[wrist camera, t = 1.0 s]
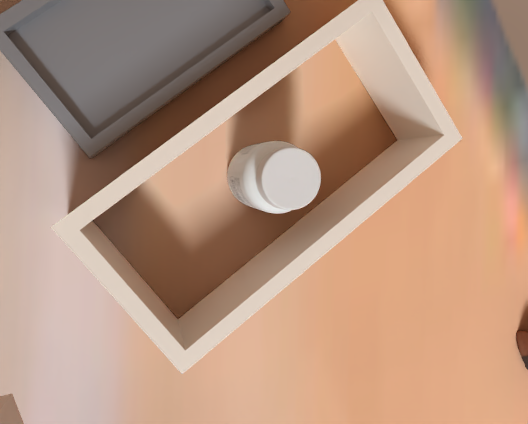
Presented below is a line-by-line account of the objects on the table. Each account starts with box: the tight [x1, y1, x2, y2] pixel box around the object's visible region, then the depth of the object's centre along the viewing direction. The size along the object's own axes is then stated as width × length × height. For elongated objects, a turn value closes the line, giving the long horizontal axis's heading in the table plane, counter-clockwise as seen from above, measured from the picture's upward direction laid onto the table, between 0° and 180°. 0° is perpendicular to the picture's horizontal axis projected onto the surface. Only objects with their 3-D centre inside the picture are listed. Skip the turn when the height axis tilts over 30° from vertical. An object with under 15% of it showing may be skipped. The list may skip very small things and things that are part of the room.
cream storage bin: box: [51, 0, 462, 374], centre depth 29 cm, size 23×11×6 cm, turn 127°
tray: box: [0, 0, 291, 158], centre depth 28 cm, size 16×9×2 cm, turn 127°
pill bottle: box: [227, 141, 321, 214], centre depth 28 cm, size 4×4×8 cm
